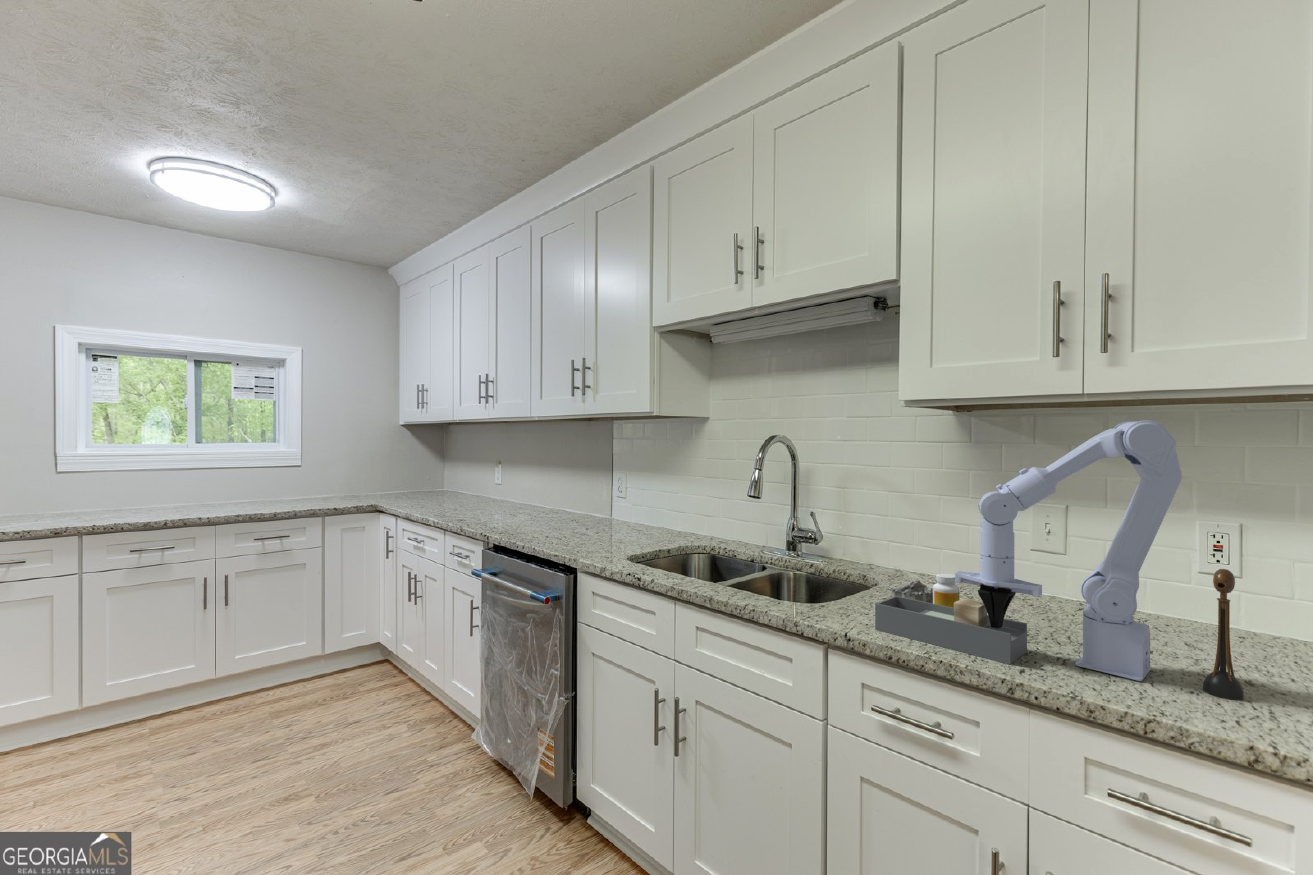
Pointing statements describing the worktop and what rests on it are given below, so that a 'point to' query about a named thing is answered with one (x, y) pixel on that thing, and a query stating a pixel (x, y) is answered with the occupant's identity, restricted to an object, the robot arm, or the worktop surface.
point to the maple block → (970, 612)
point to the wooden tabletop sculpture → (1223, 644)
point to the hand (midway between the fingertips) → (996, 626)
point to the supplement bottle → (945, 590)
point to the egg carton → (914, 592)
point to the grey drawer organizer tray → (950, 629)
